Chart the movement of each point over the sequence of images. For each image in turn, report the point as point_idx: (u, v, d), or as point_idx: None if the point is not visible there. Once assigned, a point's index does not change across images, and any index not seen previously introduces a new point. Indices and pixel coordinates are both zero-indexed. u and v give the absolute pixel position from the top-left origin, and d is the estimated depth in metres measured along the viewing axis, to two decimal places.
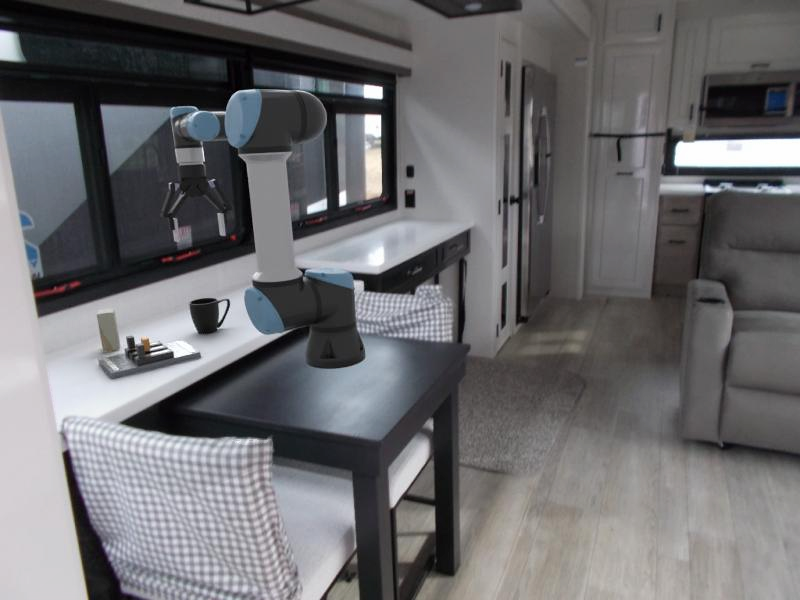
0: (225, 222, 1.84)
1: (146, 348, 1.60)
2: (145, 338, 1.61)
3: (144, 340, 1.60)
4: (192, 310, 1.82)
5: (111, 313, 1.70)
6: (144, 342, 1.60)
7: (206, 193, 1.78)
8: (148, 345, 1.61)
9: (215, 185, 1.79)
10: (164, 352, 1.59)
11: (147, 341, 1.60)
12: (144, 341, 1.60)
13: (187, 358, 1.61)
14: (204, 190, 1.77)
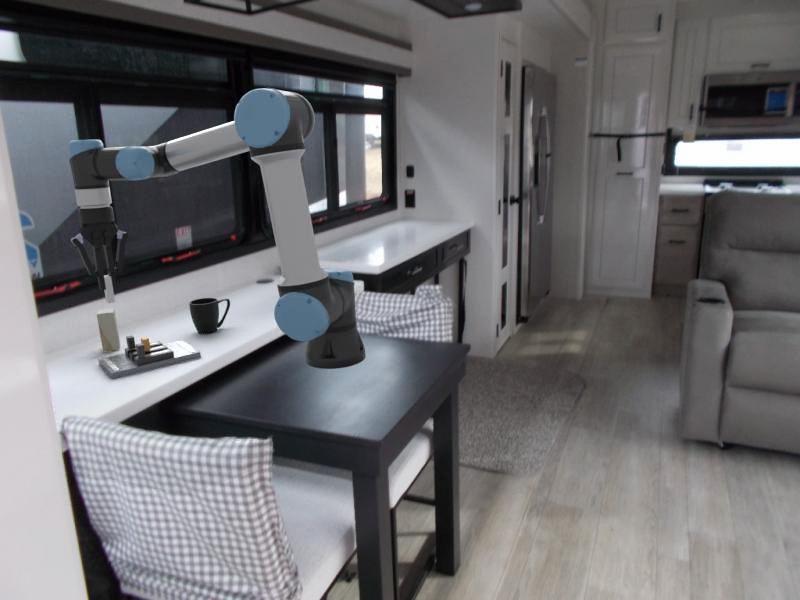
0: (114, 286, 1.54)
1: (146, 348, 1.60)
2: (145, 338, 1.61)
3: (144, 340, 1.60)
4: (192, 310, 1.82)
5: (111, 313, 1.70)
6: (144, 342, 1.60)
7: (107, 243, 1.50)
8: (148, 345, 1.61)
9: (122, 238, 1.52)
10: (164, 352, 1.59)
11: (147, 341, 1.60)
12: (144, 341, 1.60)
13: (187, 358, 1.61)
14: (107, 239, 1.50)
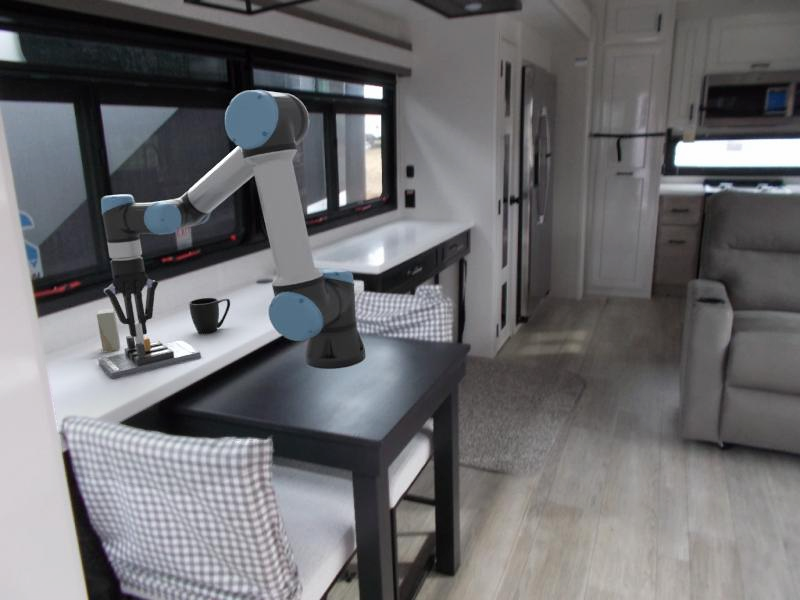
0: (144, 332, 1.60)
1: (146, 348, 1.60)
2: (145, 338, 1.61)
3: (144, 340, 1.60)
4: (192, 310, 1.82)
5: (111, 313, 1.70)
6: (144, 342, 1.60)
7: (138, 292, 1.56)
8: (148, 345, 1.61)
9: (152, 286, 1.58)
10: (164, 352, 1.59)
11: (147, 341, 1.60)
12: (144, 341, 1.60)
13: (187, 358, 1.61)
14: (138, 288, 1.56)
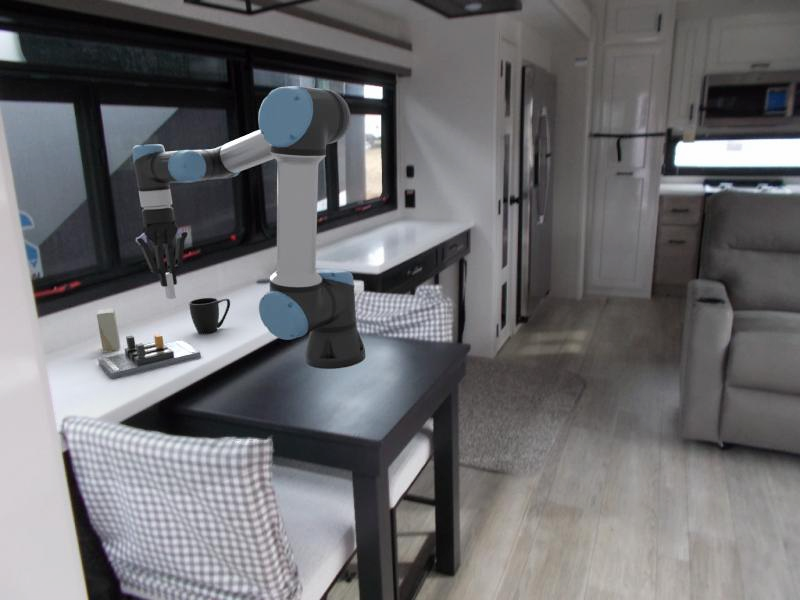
0: (174, 283, 1.62)
1: (159, 345, 1.62)
2: (158, 335, 1.63)
3: (157, 337, 1.62)
4: (192, 310, 1.82)
5: (111, 313, 1.70)
6: (157, 339, 1.62)
7: (169, 242, 1.58)
8: (161, 342, 1.63)
9: (182, 237, 1.61)
10: (164, 352, 1.59)
11: (160, 338, 1.62)
12: (157, 338, 1.62)
13: (187, 358, 1.61)
14: (169, 238, 1.58)
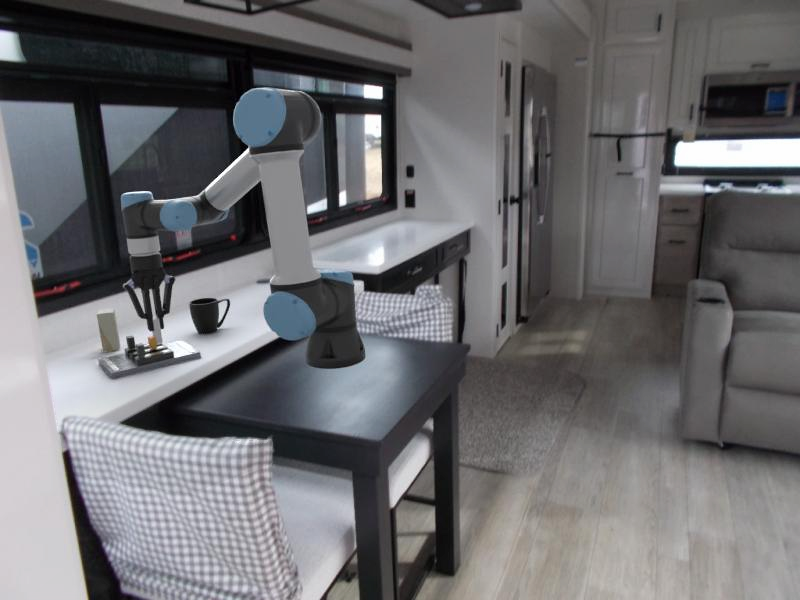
0: (162, 327, 1.62)
1: (153, 346, 1.61)
2: (152, 337, 1.62)
3: (151, 338, 1.61)
4: (192, 310, 1.82)
5: (111, 313, 1.70)
6: (151, 340, 1.61)
7: (156, 288, 1.59)
8: (155, 343, 1.62)
9: (169, 282, 1.61)
10: (164, 352, 1.59)
11: (154, 339, 1.61)
12: (151, 339, 1.61)
13: (187, 358, 1.61)
14: (156, 284, 1.59)
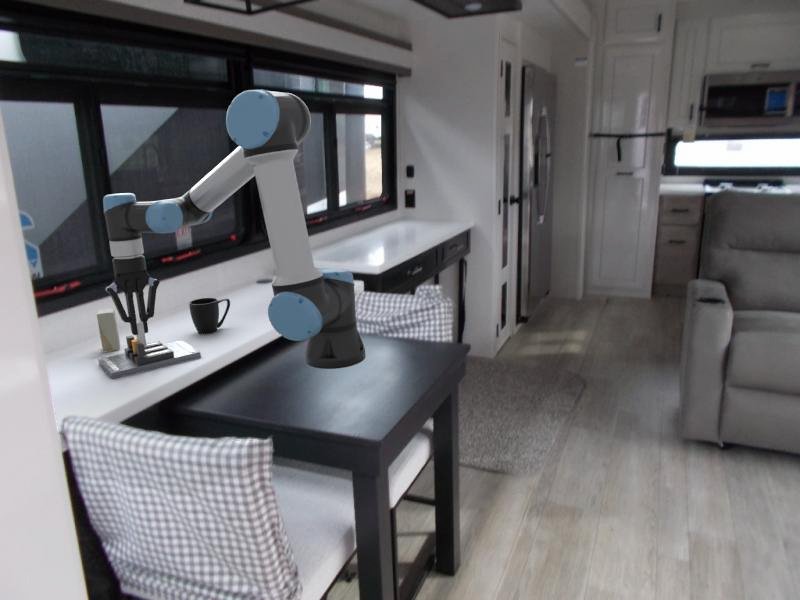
0: (146, 331, 1.60)
1: None
2: (136, 340, 1.59)
3: (135, 342, 1.58)
4: (192, 310, 1.82)
5: (111, 313, 1.70)
6: (135, 344, 1.59)
7: (139, 291, 1.56)
8: None
9: (153, 285, 1.59)
10: (164, 352, 1.59)
11: (138, 343, 1.59)
12: (135, 343, 1.58)
13: (187, 358, 1.61)
14: (140, 287, 1.56)
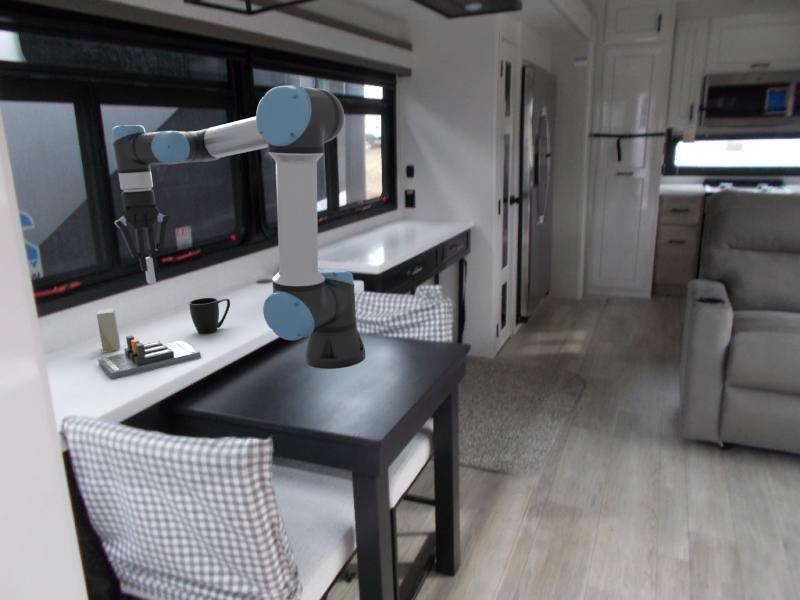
0: (155, 267, 1.59)
1: None
2: (135, 340, 1.59)
3: (134, 342, 1.58)
4: (192, 310, 1.82)
5: (111, 313, 1.70)
6: (134, 344, 1.58)
7: (149, 226, 1.55)
8: None
9: (163, 220, 1.58)
10: (164, 352, 1.59)
11: (137, 343, 1.59)
12: (134, 343, 1.58)
13: (187, 358, 1.61)
14: (149, 221, 1.55)
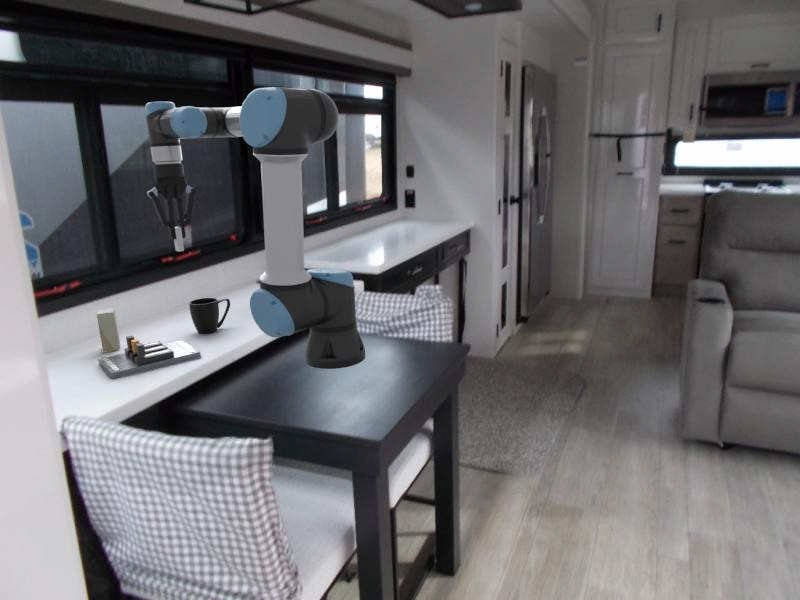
0: (183, 236, 1.70)
1: None
2: (135, 340, 1.59)
3: (134, 342, 1.58)
4: (192, 310, 1.82)
5: (111, 313, 1.70)
6: (134, 344, 1.58)
7: (178, 196, 1.66)
8: None
9: (191, 192, 1.68)
10: (164, 352, 1.59)
11: (137, 343, 1.59)
12: (134, 343, 1.58)
13: (187, 358, 1.61)
14: (178, 193, 1.66)
